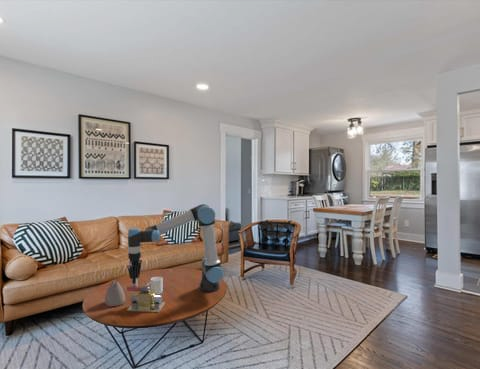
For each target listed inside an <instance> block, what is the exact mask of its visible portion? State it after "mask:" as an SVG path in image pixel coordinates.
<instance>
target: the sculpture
mask: <svg viewBox="0 0 480 369" xmlns="http://www.w3.org/2000/svg"><path fill="white" fill-rule="evenodd" d="M124 292H125V291H124V290H123V288H122V286H121V284H120V283H119V281H115V280H114V279H113V280H112V281H111V283H110V284H109V286H108V288H107V291H106V292H105V293H106V294H105V297H104V303H105V305H106V307H111V308H113V307H119V306H122V305H124V304H125V301H126V295H125V293H124Z"/></svg>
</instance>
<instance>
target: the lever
mask: <svg viewBox="0 0 480 369" xmlns="http://www.w3.org/2000/svg"><path fill="white" fill-rule="evenodd" d="M150 289H151V285H148V286H146V285H145V286H141V285H138V286H133V285H127V287H126V291H128V292H138V293H140V292H141V291H142V292H145V293H146V292H150Z"/></svg>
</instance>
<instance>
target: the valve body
mask: <svg viewBox="0 0 480 369" xmlns="http://www.w3.org/2000/svg"><path fill="white" fill-rule="evenodd" d="M130 302H131V305H130V306H128V308H127V309H126V310H127V312H144V313H145V312H147V313H159V312H160V311H161V309H162V308H163V306H164V305H165V304H166V302H165V301H163V295H162V294H158V295H156V294H155V289H151V288H150V292H146V293H145V292H142V291H139V292H138V293H137V294H132V295H131V296H130Z"/></svg>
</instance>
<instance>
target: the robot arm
mask: <svg viewBox="0 0 480 369" xmlns="http://www.w3.org/2000/svg"><path fill="white" fill-rule="evenodd" d="M190 222H198V223H197V224H198V227H199V228H200V229H201V235H202V242H203V244H202V245H203V249H204V256H205V257H203V258H202V259H201V279H200V283H199V286H198V287H199V290H200V291H202V292H206V293H210V292H211V293H212V292H216V291H218V290H219V289H220V281H221V280H222V279H223V277H224V270H223V269H222V262H221V260H220V258H218V257H219V256H218V251H217V241H216V236H215V227H214V226H215V224H216V212H215V209H214V208H213V207H212V206H210V205H208V204H205V203H202V204H199V205H197V206H195V207H192V208H189V210H188V211H186V212H184V213H181V214H179V215H176V216H174V217H171V218H168V219H166V220H164V221H162V222H159V223H157V224H154V225H150V226H147V227H146V228H145V229H144V230H141V229H140V227H131V228H129V229H128V230H127V244H128V245H127V247H128V248H127V249H128V251H127V252H128V254H127V255H128V259H129V264H128V265H126V268H127V271H128V275H129V279H132V286H139V285H138V284H139V283H138V280H139V278H140V275H141V267H142V262H143V261H142V259H141V256H142V255H141V254H142V252H141V251H142V250H141V249H142V247H141V244H143V243H144V244H145V243H156V242H159V241H160V235H161V234H164V233H166V232H169V231H171V230H174V229H176V228H178V227H182V226H183V225H186V224H188V223H190Z"/></svg>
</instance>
